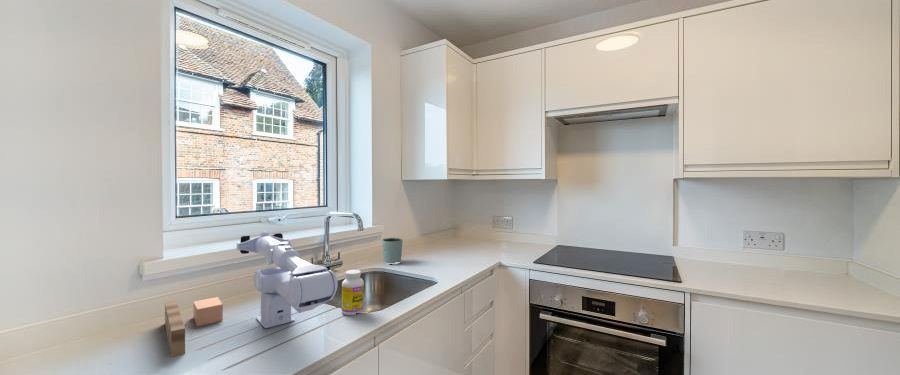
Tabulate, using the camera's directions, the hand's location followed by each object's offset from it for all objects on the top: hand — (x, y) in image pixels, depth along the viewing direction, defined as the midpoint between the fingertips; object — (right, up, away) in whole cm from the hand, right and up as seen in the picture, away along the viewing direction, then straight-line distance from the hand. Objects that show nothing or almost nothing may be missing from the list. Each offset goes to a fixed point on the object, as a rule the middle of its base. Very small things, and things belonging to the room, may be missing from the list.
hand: (256, 239), depth 113 cm
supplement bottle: (+35, -22, -7) cm, 42 cm away
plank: (-7, -21, -25) cm, 34 cm away
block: (-6, -21, -14) cm, 26 cm away
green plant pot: (+36, -21, +55) cm, 69 cm away
